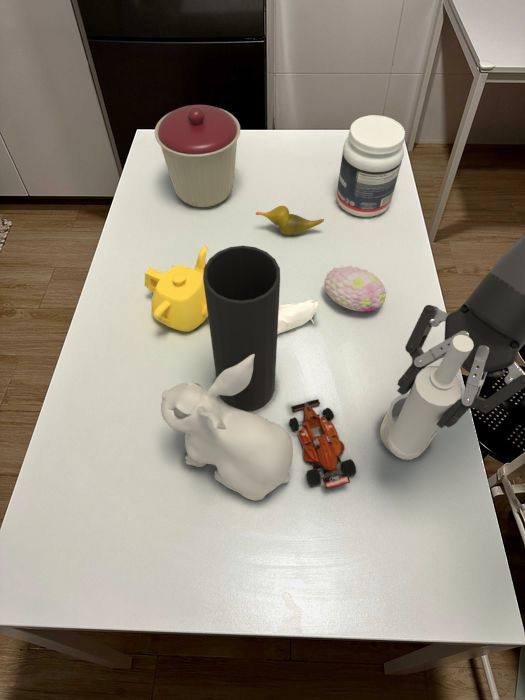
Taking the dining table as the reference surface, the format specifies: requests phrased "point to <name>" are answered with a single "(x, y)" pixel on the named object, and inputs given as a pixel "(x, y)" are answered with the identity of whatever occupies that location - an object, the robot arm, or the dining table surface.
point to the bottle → (429, 401)
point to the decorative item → (355, 288)
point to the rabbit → (230, 434)
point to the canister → (199, 152)
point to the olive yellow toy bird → (289, 221)
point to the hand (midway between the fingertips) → (421, 408)
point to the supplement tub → (370, 165)
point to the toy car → (322, 446)
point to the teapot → (179, 295)
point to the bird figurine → (295, 314)
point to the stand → (392, 418)
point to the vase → (244, 318)
